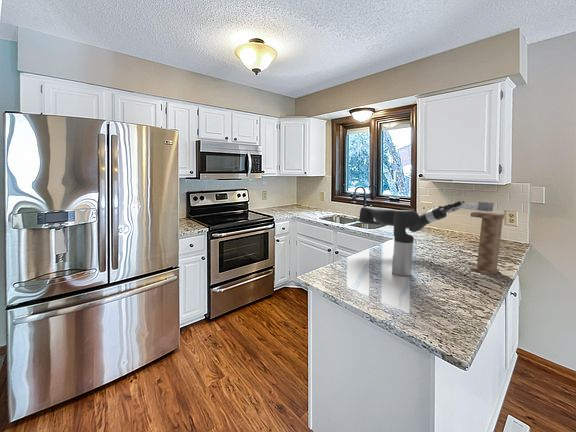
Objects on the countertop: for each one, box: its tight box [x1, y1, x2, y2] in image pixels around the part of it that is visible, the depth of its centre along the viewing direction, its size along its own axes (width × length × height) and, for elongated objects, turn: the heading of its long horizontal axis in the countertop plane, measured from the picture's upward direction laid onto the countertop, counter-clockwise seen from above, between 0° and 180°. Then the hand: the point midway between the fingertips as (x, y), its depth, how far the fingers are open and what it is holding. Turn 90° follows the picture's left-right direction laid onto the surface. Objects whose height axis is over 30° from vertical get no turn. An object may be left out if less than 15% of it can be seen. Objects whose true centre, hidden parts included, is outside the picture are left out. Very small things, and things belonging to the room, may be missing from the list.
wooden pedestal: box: [469, 211, 505, 276], centre depth 158 cm, size 12×10×31 cm
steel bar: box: [450, 201, 495, 213], centre depth 161 cm, size 20×5×4 cm, turn 31°
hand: (462, 202), depth 165 cm, fingers closed on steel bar, 3 cm apart
